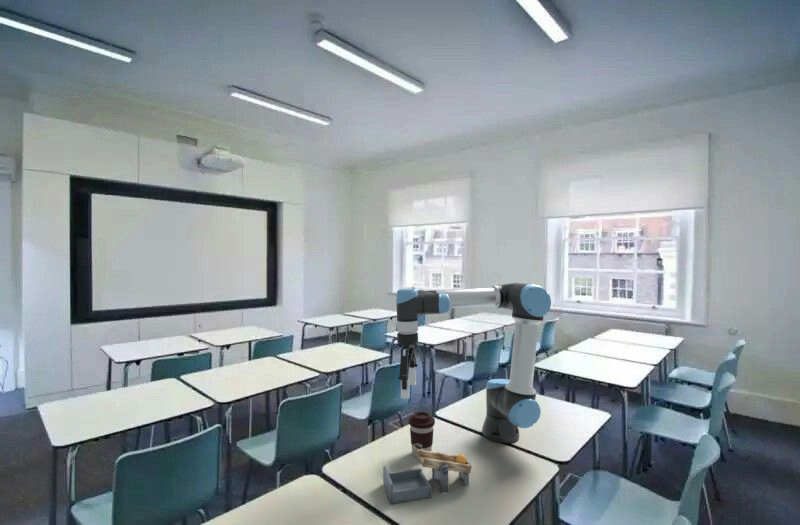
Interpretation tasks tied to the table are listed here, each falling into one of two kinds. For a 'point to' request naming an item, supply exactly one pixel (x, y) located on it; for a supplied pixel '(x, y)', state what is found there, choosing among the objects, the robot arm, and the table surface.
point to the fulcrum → (441, 477)
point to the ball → (461, 459)
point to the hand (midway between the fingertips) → (408, 391)
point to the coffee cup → (421, 431)
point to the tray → (406, 485)
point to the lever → (440, 460)
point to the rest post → (464, 478)
